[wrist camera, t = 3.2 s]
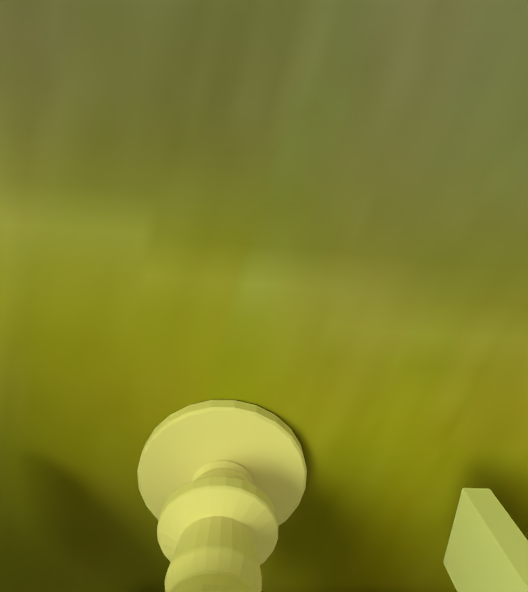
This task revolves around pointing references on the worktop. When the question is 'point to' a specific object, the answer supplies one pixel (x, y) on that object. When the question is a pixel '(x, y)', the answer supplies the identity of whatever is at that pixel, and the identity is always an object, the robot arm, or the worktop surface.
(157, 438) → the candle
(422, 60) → the worktop surface
